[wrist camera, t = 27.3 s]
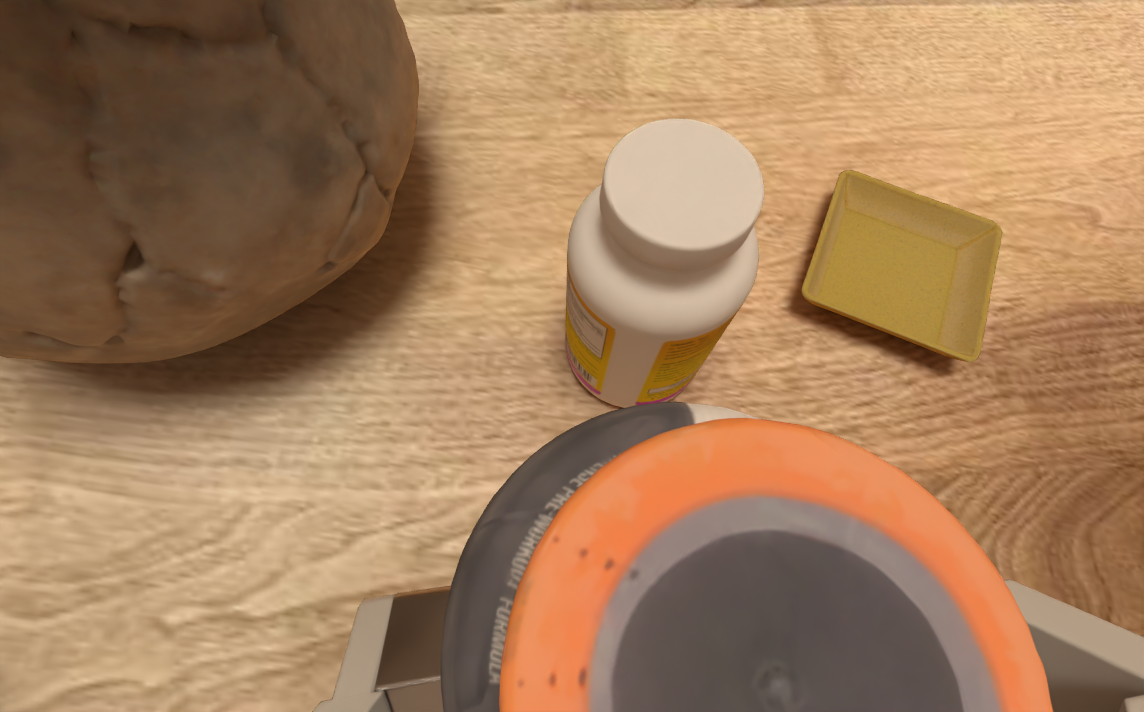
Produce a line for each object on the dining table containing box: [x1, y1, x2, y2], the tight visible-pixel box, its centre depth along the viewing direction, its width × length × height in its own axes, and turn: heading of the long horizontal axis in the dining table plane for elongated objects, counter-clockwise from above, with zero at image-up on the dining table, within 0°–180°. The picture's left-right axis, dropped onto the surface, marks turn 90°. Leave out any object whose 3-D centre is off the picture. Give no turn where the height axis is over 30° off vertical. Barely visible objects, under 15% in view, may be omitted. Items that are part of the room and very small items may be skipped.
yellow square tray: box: [802, 170, 1002, 362], centre depth 29 cm, size 9×9×2 cm
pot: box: [0, 0, 419, 363], centre depth 20 cm, size 25×24×21 cm
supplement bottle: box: [565, 119, 764, 408], centre depth 22 cm, size 7×7×13 cm
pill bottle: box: [440, 402, 1053, 712], centre depth 9 cm, size 6×6×11 cm
